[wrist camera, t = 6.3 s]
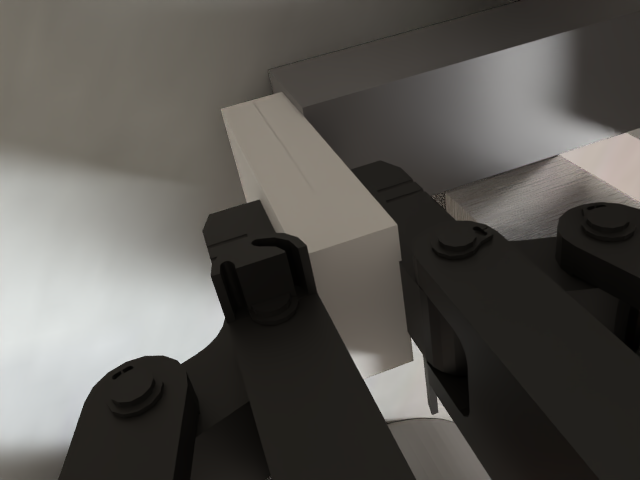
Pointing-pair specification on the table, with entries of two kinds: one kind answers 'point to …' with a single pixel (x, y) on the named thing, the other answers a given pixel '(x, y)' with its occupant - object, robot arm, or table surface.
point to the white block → (477, 90)
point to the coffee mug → (437, 450)
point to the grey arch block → (531, 198)
